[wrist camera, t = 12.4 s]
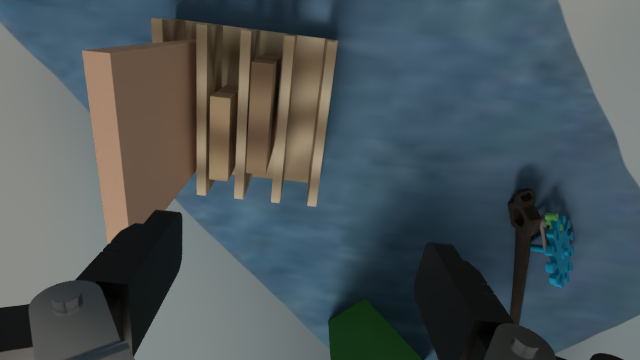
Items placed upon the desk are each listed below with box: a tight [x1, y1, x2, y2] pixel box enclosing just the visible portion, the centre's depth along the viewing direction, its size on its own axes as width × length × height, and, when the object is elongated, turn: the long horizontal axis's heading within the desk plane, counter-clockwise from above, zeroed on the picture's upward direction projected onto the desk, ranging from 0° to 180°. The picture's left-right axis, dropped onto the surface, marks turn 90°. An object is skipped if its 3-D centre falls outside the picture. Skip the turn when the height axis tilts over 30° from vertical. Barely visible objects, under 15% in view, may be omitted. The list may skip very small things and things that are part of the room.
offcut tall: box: [246, 54, 281, 175], centre depth 41 cm, size 11×2×10 cm, turn 173°
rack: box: [151, 18, 338, 207], centre depth 43 cm, size 18×19×8 cm
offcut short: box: [209, 85, 239, 181], centre depth 42 cm, size 9×2×8 cm, turn 173°
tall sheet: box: [82, 39, 197, 244], centre depth 35 cm, size 14×2×22 cm, turn 174°
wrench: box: [508, 188, 542, 325], centre depth 56 cm, size 5×5×30 cm
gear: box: [530, 213, 574, 288], centre depth 53 cm, size 11×6×10 cm
